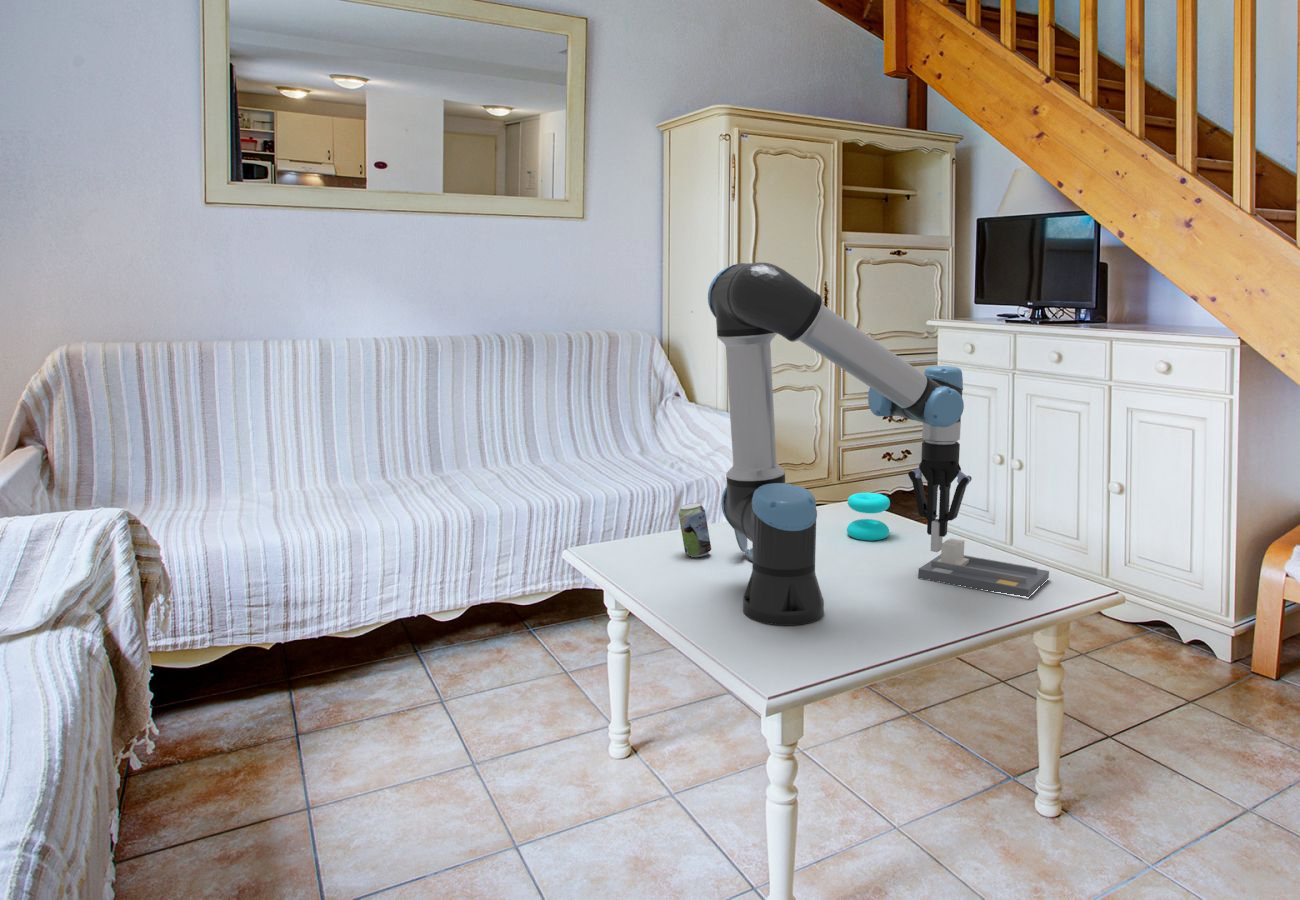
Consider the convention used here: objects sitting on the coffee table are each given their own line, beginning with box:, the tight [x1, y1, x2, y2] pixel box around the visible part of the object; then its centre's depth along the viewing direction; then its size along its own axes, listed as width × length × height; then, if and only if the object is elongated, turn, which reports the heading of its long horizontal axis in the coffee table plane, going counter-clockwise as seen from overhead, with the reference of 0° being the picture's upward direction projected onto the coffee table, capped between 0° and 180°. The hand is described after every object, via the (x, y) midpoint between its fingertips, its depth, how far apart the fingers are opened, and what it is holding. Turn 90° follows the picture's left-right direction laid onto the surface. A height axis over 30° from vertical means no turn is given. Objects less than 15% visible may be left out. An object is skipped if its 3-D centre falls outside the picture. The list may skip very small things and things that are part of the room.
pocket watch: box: [733, 529, 753, 563], centre depth 201 cm, size 10×11×15 cm
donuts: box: [846, 492, 891, 542], centre depth 217 cm, size 10×10×10 cm
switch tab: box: [937, 537, 969, 566], centre depth 189 cm, size 6×5×5 cm
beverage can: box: [678, 502, 712, 558], centre depth 204 cm, size 6×7×12 cm
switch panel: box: [917, 553, 1050, 597], centre depth 185 cm, size 14×22×3 cm, turn 51°
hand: (936, 550), depth 191 cm, fingers closed
